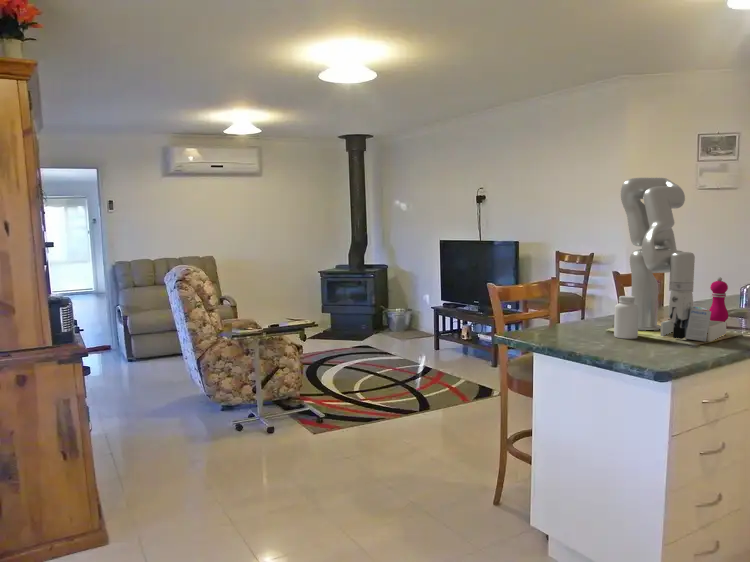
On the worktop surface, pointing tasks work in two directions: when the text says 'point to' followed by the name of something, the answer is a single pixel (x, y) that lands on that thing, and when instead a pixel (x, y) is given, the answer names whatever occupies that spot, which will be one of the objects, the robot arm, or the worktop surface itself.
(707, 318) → the light bulb box
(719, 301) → the pepper mill
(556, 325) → the worktop surface
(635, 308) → the pill bottle
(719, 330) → the cream bay
